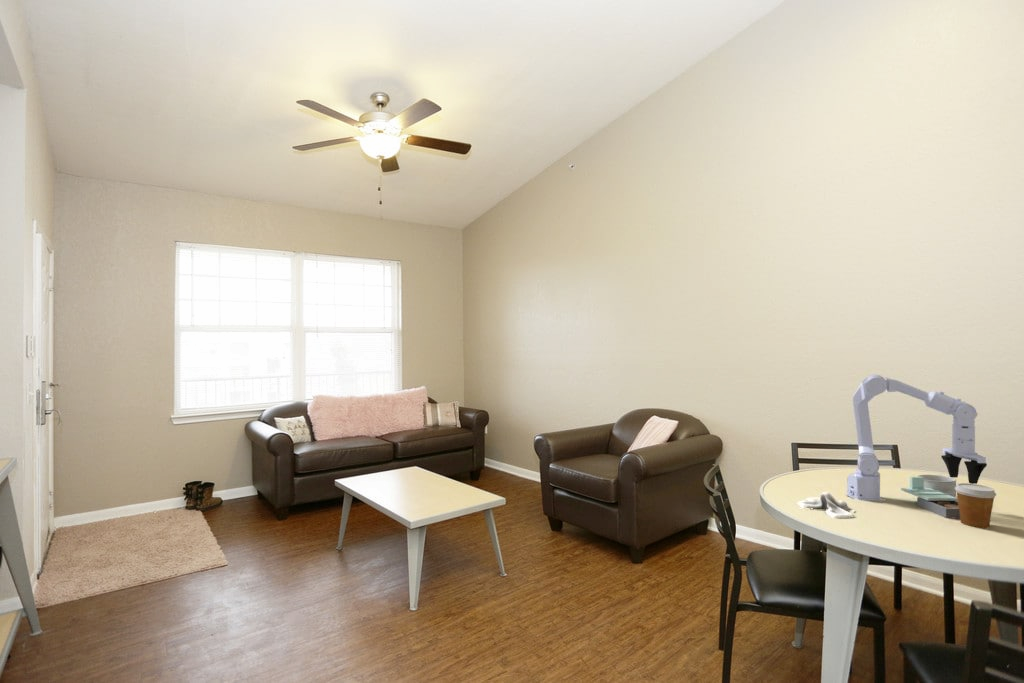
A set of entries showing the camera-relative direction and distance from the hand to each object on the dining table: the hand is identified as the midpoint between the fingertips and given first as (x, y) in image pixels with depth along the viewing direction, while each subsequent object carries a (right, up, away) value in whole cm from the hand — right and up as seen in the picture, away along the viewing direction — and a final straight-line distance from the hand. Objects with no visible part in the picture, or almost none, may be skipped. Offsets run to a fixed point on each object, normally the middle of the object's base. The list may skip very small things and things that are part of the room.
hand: (963, 480), depth 174 cm
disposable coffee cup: (-8, -11, -14) cm, 19 cm away
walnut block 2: (-7, -10, -5) cm, 13 cm away
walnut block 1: (-7, -10, +1) cm, 12 cm away
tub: (-7, -10, -2) cm, 13 cm away
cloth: (-42, -11, +3) cm, 43 cm away
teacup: (+4, -11, +15) cm, 19 cm away
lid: (-7, -7, +6) cm, 11 cm away
